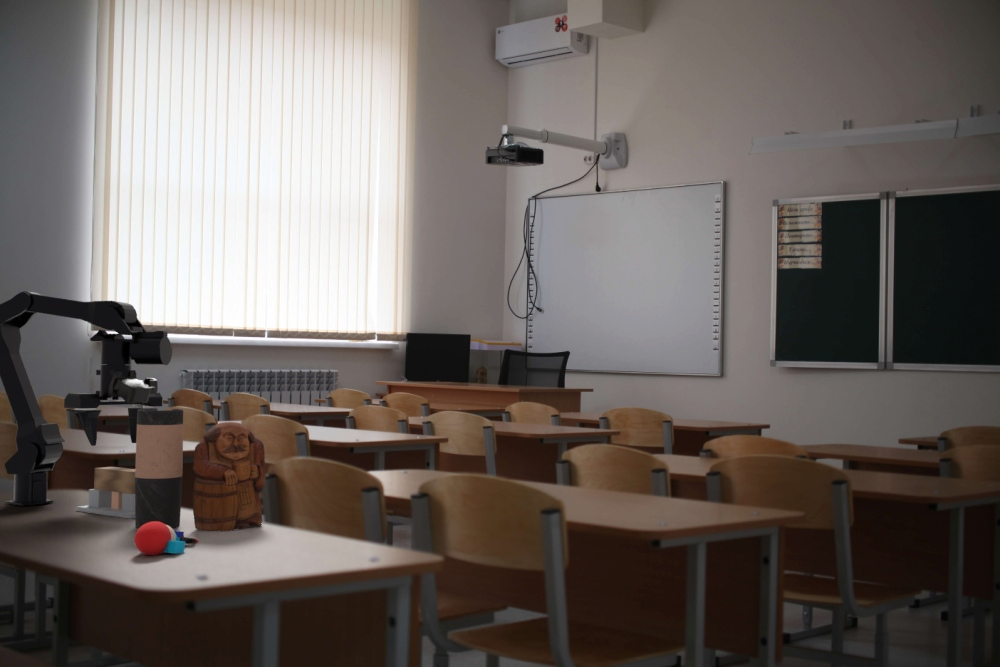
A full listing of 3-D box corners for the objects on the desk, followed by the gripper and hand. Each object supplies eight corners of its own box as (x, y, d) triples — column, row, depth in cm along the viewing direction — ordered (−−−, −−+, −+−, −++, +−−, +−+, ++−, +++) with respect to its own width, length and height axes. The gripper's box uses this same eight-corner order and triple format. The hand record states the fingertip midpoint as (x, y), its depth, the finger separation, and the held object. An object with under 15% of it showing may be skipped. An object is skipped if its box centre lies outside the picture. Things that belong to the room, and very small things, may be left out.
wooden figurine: (207, 533, 162) (210, 423, 163) (188, 529, 166) (191, 422, 167) (270, 526, 170) (272, 421, 171) (250, 522, 175) (252, 420, 176)
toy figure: (154, 552, 154) (115, 553, 140) (159, 520, 155) (121, 518, 141) (201, 557, 154) (167, 558, 139) (206, 525, 155) (173, 523, 140)
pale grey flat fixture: (76, 510, 186) (77, 489, 186) (117, 505, 194) (118, 485, 194) (130, 518, 177) (131, 496, 178) (171, 512, 185) (172, 491, 185)
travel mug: (150, 532, 163) (153, 410, 163) (124, 527, 167) (127, 409, 168) (190, 527, 169) (193, 409, 170) (164, 522, 173) (166, 408, 174)
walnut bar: (94, 489, 187) (94, 468, 187) (110, 487, 190) (110, 466, 190) (134, 494, 181) (135, 472, 181) (150, 492, 183) (151, 470, 184)
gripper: (99, 364, 183) (97, 449, 182) (181, 365, 198) (179, 443, 198) (63, 364, 189) (61, 446, 188) (145, 365, 204) (144, 441, 204)
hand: (114, 444), depth 194 cm, fingers open, 9 cm apart
